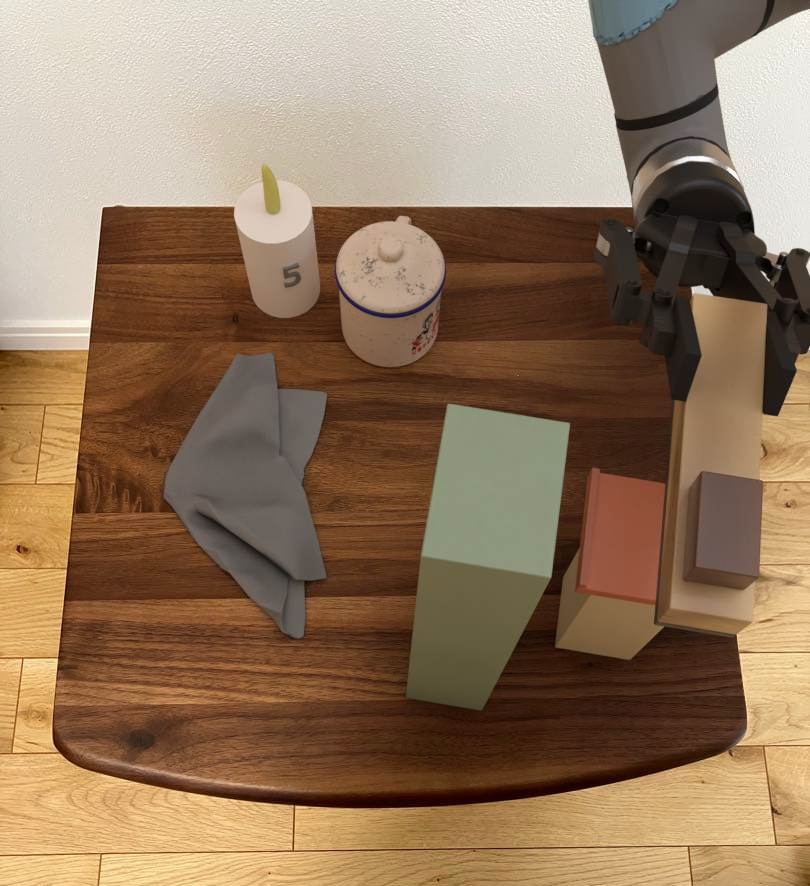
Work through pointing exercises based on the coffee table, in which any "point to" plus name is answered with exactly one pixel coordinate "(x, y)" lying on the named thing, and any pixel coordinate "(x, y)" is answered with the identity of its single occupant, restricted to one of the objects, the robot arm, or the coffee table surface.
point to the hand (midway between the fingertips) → (732, 384)
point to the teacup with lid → (390, 292)
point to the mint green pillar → (484, 550)
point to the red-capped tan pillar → (613, 569)
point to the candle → (278, 246)
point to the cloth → (254, 486)
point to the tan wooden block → (715, 476)
